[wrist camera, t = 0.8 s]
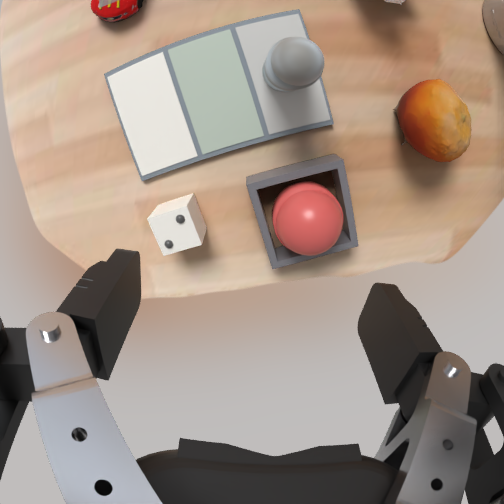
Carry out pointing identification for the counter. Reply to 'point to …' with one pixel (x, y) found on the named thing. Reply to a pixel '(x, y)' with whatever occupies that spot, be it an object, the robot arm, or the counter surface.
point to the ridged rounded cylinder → (293, 64)
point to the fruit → (435, 120)
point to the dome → (307, 218)
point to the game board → (211, 95)
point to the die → (178, 224)
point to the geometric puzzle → (395, 1)
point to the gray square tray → (295, 171)
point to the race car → (115, 9)
